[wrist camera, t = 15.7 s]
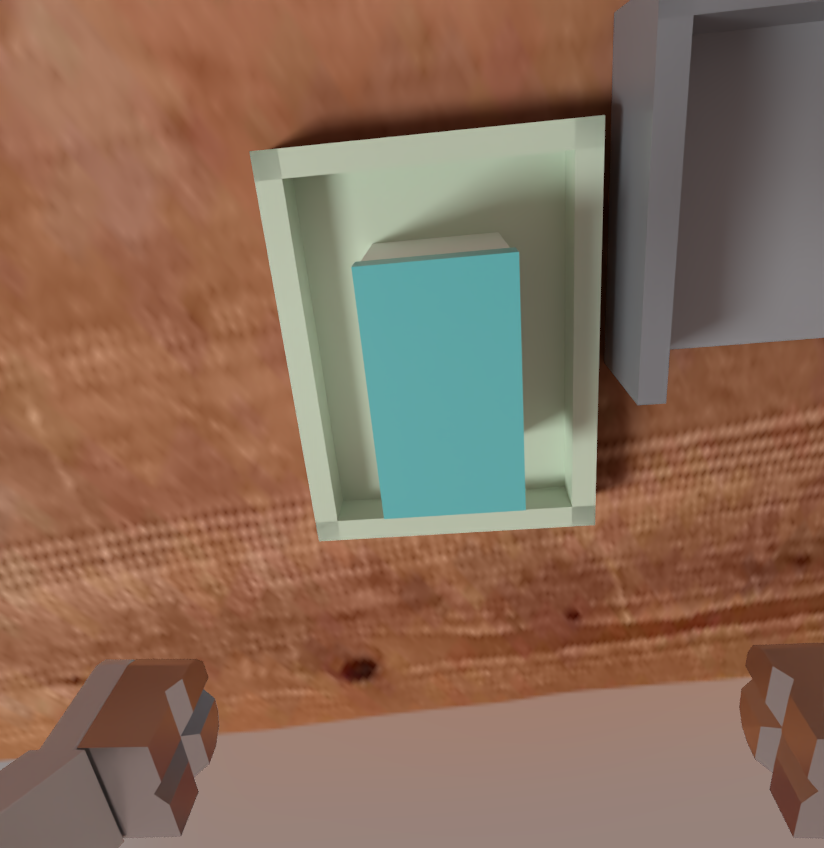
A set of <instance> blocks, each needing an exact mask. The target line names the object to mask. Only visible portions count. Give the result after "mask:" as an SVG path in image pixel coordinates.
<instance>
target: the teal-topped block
mask: <svg viewBox="0 0 824 848" xmlns="http://www.w3.org/2000/svg"><path fill="white" fill-rule="evenodd" d="M351 269H352V277H353V284H354V292H355V300H356V307H357V315H358V323H359V330H360V338H361V346H362V354H363V361H364V369H365V377H366V384H367V392H368V400H369V408H370V415H371V423H372V431H373V438H374V446H375V454H376V461H377V469H378V477H379V485H380V492H381V500H382V508H383V515H384V519H395V518H411V517H427V516H443V515H459V514H475V513H492V512H508V511H524V510H526V497H525V458H524V420H523V382H522V344H521V306H520V268H519V251H518V250H517V249H516V247H512V248H510V247H509V246H508V244H507V243H506V242H505V240H504V239H503V238H502V236H501V235H500V234H499V232H493V233H482V234H471V235H460V236H450V237H439V238H428V239H417V240H406V241H396V242H385V243H374V244H372V245H371V247H370V248H369V250H368V251H367V253H366V254H365V256H364V257H363V259H362V260H361V261H358V262H354V264H353V265H352V267H351Z"/></svg>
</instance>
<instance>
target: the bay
mask: <svg viewBox="0 0 824 848" xmlns="http://www.w3.org/2000/svg"><path fill="white" fill-rule="evenodd" d="M812 338H824V0H630V1H629V2H628V3H626V4H625V5H624V6H622V7H621V8H620V9H618V10H617V11H616V12H615V13H614V40H613V75H612V109H611V144H610V178H609V213H608V248H607V282H606V317H605V352H604V363H605V364H606V366H607V367H608V368H609V369H610V371H611V372H612V373H613V374H614V376H615V377H616V378H617V380H618V381H619V382H620V383H621V385H622V386H623V387H624V388H625V390H626V391H627V392H628V394H629V395H630V396H631V397H632V399H633V400H634V401H635V402H636V404H637V405H649V404H663V403H666V396H667V382H668V368H669V354H670V349H683V348H695V347H708V346H721V345H734V344H747V343H760V342H773V341H786V340H799V339H812Z"/></svg>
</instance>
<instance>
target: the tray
mask: <svg viewBox="0 0 824 848" xmlns="http://www.w3.org/2000/svg"><path fill="white" fill-rule="evenodd" d="M604 147H605V115H599V116H590V117H580V118H570V119H561V120H551V121H541V122H531V123H522V124H512V125H502V126H492V127H483V128H473V129H463V130H453V131H444V132H434V133H424V134H415V135H405V136H395V137H385V138H376V139H366V140H356V141H346V142H337V143H327V144H317V145H307V146H298V147H288V148H278V149H268V150H259V151H249V152H250V157H251V163H252V169H253V174H254V180H255V185H256V191H257V197H258V202H259V208H260V213H261V219H262V225H263V230H264V236H265V241H266V247H267V253H268V258H269V264H270V269H271V275H272V281H273V286H274V292H275V297H276V303H277V309H278V314H279V320H280V325H281V331H282V337H283V342H284V348H285V353H286V359H287V365H288V370H289V376H290V381H291V387H292V393H293V398H294V404H295V409H296V415H297V421H298V426H299V432H300V437H301V443H302V449H303V454H304V460H305V465H306V471H307V477H308V482H309V488H310V493H311V499H312V505H313V510H314V516H315V521H316V527H317V533H318V538H319V541H331V540H348V539H365V538H382V537H399V536H416V535H433V534H450V533H467V532H484V531H501V530H517V529H534V528H551V527H568V526H585V525H595V500H596V461H597V421H598V382H599V343H600V304H601V265H602V225H603V186H604ZM493 232H499V234H500V235H501V236H502V238H503V239H504V240H505V242H506V243H507V244H508V246H509V247H510V248H512V247H516V249H517V250H518V251H519V268H520V306H521V344H522V382H523V420H524V458H525V497H526V510H524V511H508V512H492V513H475V514H459V515H443V516H427V517H411V518H395V519H384V515H383V508H382V500H381V492H380V485H379V477H378V469H377V461H376V454H375V446H374V438H373V431H372V423H371V415H370V408H369V400H368V392H367V384H366V377H365V369H364V361H363V354H362V346H361V338H360V330H359V323H358V315H357V307H356V300H355V292H354V284H353V277H352V269H351V267H352V265H353V264H354V262H358V261H361V260H362V259H363V257H364V256H365V254H366V253H367V251H368V250H369V248H370V247H371V245H372V244H374V243H385V242H396V241H406V240H417V239H428V238H439V237H450V236H460V235H471V234H482V233H493Z"/></svg>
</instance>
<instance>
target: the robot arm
mask: <svg viewBox="0 0 824 848" xmlns="http://www.w3.org/2000/svg"><path fill="white" fill-rule="evenodd" d="M745 666H746V668H747V670H748V671H749V673H750V675H751V677H752V680H751V681H750V682H749V683H747V684H746V685H745V686H744V687H743V688H742V689H741V698H740V706H739V708H740V715H741V723H742V728H743V731H744V734H745V738H746V741H747V743H748V746H749V748H750V750H751V752H752V754H753V756H754V758H755V760H757V761H758V762H759V763H760V764H762V765H763V766H764V767H766V768H767V769H768V770H769V771H771V772H772V773H773V774H772V779H771V784H770V791H771V794H772V796H773V798H774V800H775V801H776V804H777V805H778V808H779V810H780V812H781V813H782V816H783V818H784V820H785V822H786V824H787V826H788V828H789V830H790V832H791V834H792V836H793V837H794V838H822V839H823V838H824V643H799V644H769V645H753V646H752V647H751V648H750V650H749V651H748V654H747V660H746V665H745ZM207 680H208V674H207V672H206V669H205V666H204V663H203V661H200V660H197V659H136V660H107V659H106V660H105V661H103V662H101V663H100V664H98V665H97V666H96V667H95V668H94V670H93V671H92V673H91V674H90V676H89V677H88V679H87V680H86V682H85V683H84V685H83V686H82V688H81V689H80V690H79V692H78V693H77V695H76V696H75V698H74V699H73V701H72V702H71V704H70V705H69V707H68V708H67V710H66V711H65V713H64V714H63V716H62V717H61V718H60V720H59V721H58V723H57V724H56V726H55V727H54V729H53V730H52V732H51V733H50V735H49V736H48V738H47V739H46V741H45V742H44V743H43V745H42V746H41V748H40V749H39V750H29V751H28V752H26V753H25V754H23V755H22V756H20V757H19V758H18V759H16V760H15V761H13V762H12V763H10V764H9V765H8V766H6V767H5V768H3V769H2V770H1V771H0V848H118V847H119V846H120V845H121V844H122V843H123V842H124V840H123V838H143V837H177V836H181V835H182V833H183V830H184V828H185V825H186V823H187V820H188V818H189V815H190V813H191V810H192V808H193V805H194V802H195V800H196V797H197V795H198V792H199V791H198V788H197V786H196V782H195V779H194V777H195V776H197V775H198V774H199V773H200V772H201V771H202V770H203V769H204V768H206V767H207V766H208V765H209V764H210V761H211V758H212V756H213V753H214V750H215V747H216V743H217V736H218V730H219V716H218V708H217V705H216V701H215V698H213V697H212V696H211V695H210V694H209V693H207V692H206V691H205V690H204V686H205V684H206V682H207Z"/></svg>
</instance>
